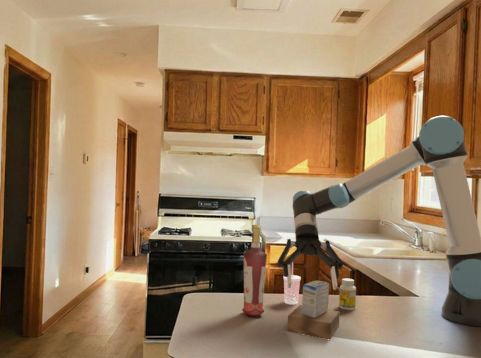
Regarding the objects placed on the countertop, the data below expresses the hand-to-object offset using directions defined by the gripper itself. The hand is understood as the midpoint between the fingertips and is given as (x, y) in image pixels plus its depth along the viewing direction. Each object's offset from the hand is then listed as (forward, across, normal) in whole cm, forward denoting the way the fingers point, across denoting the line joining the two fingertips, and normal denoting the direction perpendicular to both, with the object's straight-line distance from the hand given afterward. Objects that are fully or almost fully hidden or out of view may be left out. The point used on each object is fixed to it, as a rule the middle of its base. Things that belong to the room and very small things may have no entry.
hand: (312, 286), depth 121 cm
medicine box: (+8, 0, -2) cm, 8 cm away
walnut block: (+11, 0, -6) cm, 12 cm away
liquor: (+3, +17, -13) cm, 22 cm away
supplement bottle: (-4, -16, -21) cm, 26 cm away
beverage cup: (-7, +3, -23) cm, 24 cm away
